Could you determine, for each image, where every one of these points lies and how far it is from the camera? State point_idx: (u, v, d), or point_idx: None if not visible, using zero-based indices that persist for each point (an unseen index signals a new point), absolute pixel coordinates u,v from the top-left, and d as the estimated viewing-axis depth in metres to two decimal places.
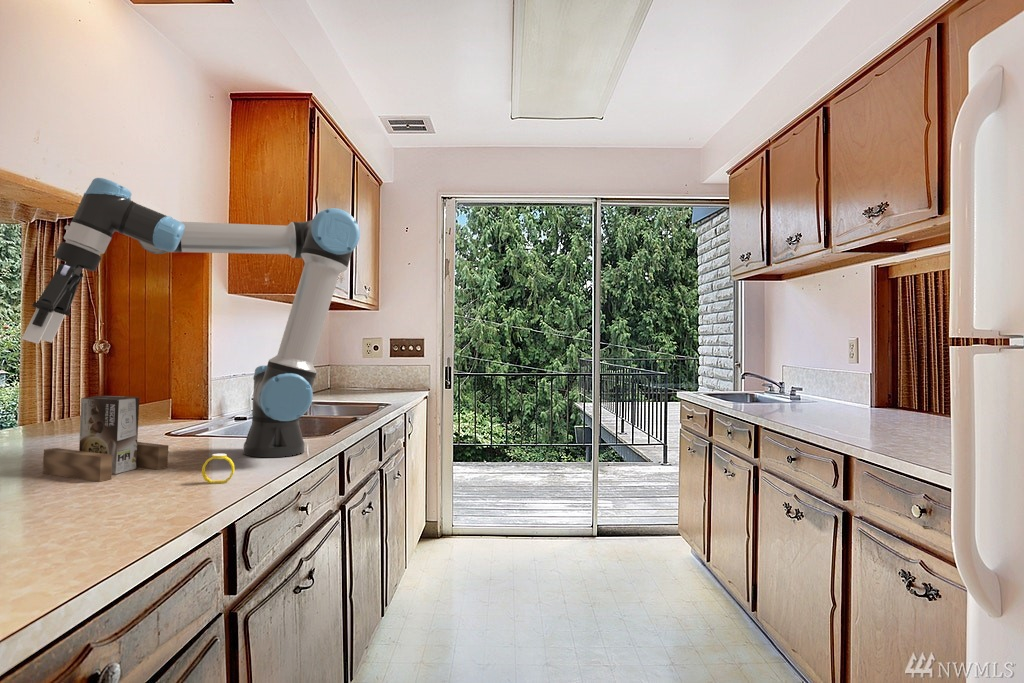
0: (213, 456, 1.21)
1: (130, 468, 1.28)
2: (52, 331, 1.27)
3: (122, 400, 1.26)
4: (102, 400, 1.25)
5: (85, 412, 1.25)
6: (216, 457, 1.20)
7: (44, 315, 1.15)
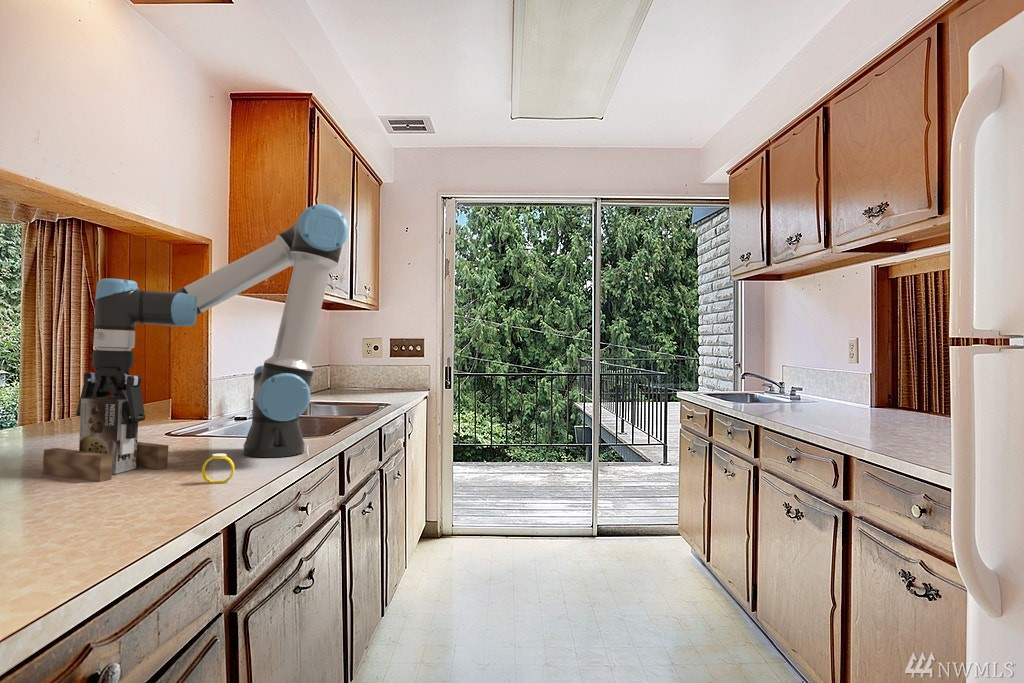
0: (213, 456, 1.21)
1: (130, 468, 1.28)
2: None
3: (122, 400, 1.26)
4: (102, 400, 1.25)
5: (85, 412, 1.25)
6: (216, 457, 1.20)
7: (135, 427, 1.27)
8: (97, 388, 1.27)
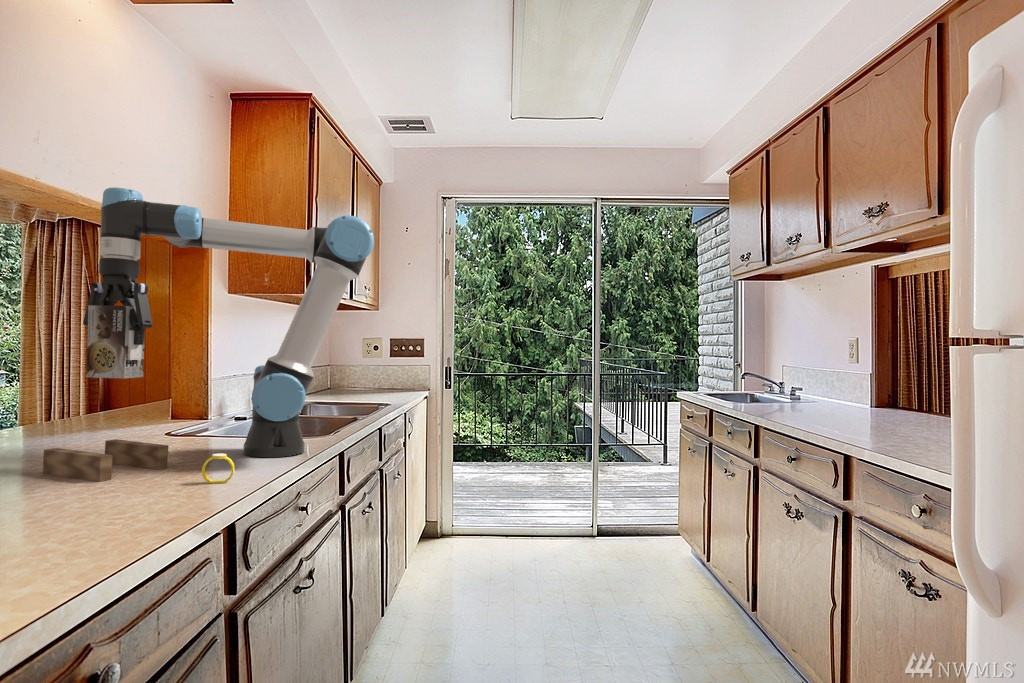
0: (213, 456, 1.21)
1: (137, 375, 1.31)
2: None
3: (129, 307, 1.28)
4: (109, 306, 1.27)
5: (93, 318, 1.27)
6: (216, 457, 1.20)
7: (142, 334, 1.29)
8: (104, 296, 1.29)
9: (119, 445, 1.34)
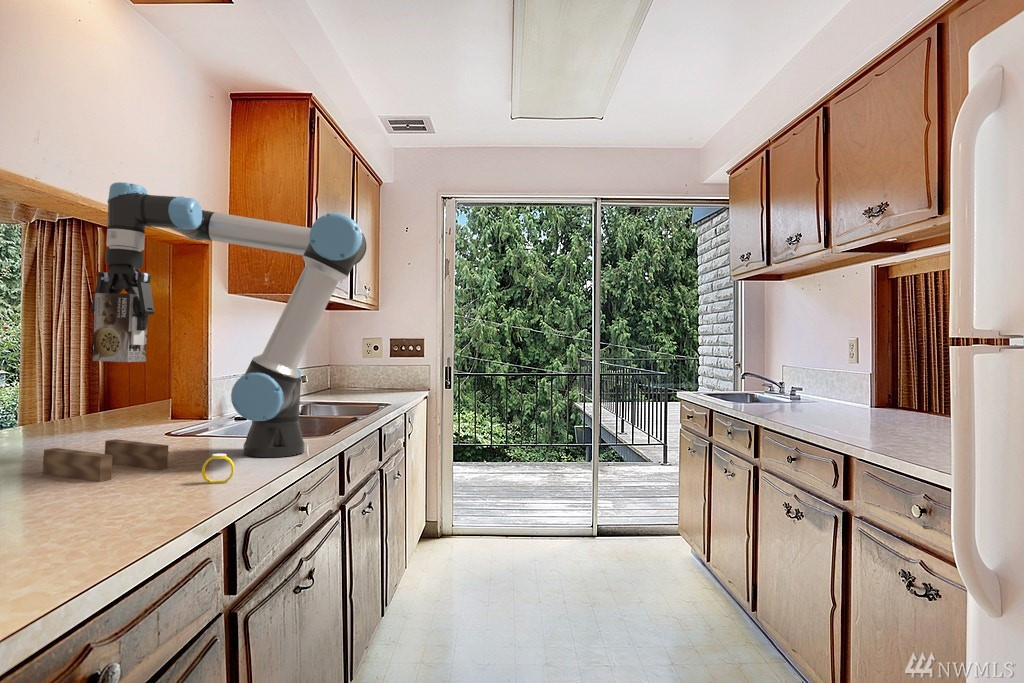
0: (213, 456, 1.21)
1: (140, 360, 1.39)
2: None
3: (133, 295, 1.36)
4: (115, 294, 1.35)
5: (99, 305, 1.35)
6: (216, 457, 1.20)
7: (145, 320, 1.37)
8: (110, 285, 1.37)
9: (119, 445, 1.34)
